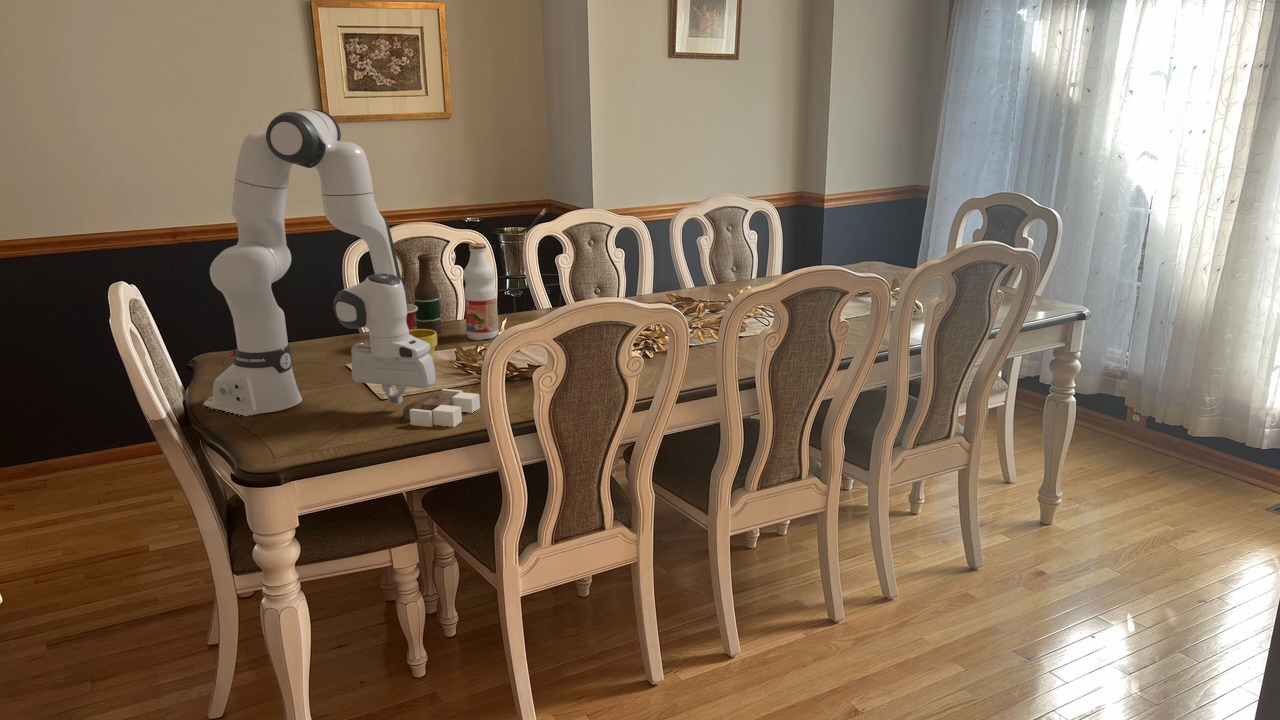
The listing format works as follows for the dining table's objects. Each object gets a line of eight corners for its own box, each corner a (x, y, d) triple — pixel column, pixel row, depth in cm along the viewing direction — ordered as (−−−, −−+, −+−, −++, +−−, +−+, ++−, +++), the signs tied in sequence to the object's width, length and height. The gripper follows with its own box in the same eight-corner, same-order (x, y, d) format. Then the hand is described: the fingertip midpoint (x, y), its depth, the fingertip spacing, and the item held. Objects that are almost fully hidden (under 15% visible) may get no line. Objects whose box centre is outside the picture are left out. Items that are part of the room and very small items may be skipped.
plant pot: (422, 360, 256) (420, 326, 253) (447, 367, 249) (444, 332, 247) (391, 369, 248) (388, 334, 245) (415, 376, 242) (412, 340, 239)
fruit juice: (503, 338, 278) (498, 245, 270) (473, 342, 273) (467, 248, 265) (492, 331, 285) (486, 240, 277) (462, 335, 281) (456, 243, 273)
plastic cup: (415, 351, 264) (412, 310, 261) (377, 351, 265) (374, 310, 261) (425, 341, 275) (422, 301, 271) (388, 341, 275) (385, 302, 272)
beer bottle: (412, 335, 281) (405, 257, 274) (422, 329, 289) (416, 252, 282) (436, 336, 280) (430, 257, 273) (446, 330, 287) (440, 253, 280)
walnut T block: (404, 420, 210) (402, 408, 210) (428, 405, 221) (427, 393, 220) (435, 423, 208) (434, 410, 207) (458, 407, 218) (457, 395, 217)
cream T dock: (410, 424, 208) (409, 410, 207) (444, 402, 222) (443, 388, 221) (451, 429, 205) (449, 414, 204) (482, 406, 219) (481, 392, 218)
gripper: (342, 345, 213) (349, 402, 216) (422, 352, 207) (427, 410, 211) (358, 338, 218) (364, 394, 222) (436, 344, 212) (440, 401, 216)
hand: (395, 402), depth 216 cm, fingers closed
